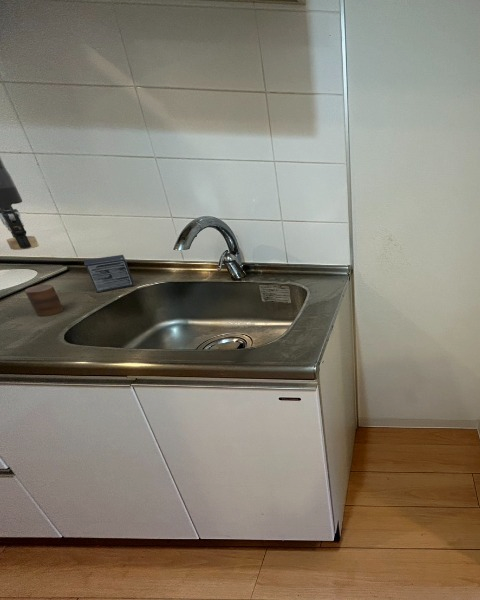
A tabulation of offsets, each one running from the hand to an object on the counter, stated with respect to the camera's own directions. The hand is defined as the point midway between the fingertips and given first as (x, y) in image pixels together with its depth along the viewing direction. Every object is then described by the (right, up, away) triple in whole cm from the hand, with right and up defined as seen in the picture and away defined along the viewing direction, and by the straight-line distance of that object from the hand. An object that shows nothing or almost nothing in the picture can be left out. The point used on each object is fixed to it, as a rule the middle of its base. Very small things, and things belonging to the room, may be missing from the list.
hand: (24, 245), depth 91 cm
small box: (+9, -12, +19) cm, 24 cm away
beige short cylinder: (0, 0, 0) cm, 1 cm away
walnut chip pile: (+6, -20, +2) cm, 21 cm away
